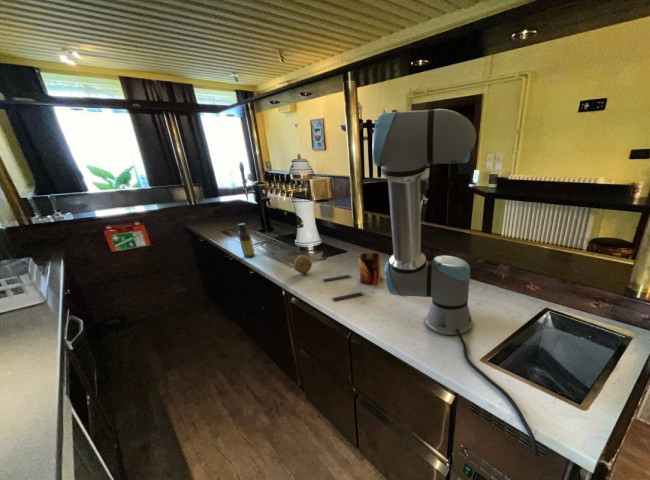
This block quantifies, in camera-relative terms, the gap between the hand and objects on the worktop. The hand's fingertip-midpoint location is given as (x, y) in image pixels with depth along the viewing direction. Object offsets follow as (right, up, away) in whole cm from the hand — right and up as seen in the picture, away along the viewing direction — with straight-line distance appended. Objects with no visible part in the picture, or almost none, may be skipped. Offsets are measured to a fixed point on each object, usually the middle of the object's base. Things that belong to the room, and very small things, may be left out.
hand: (417, 236), depth 132 cm
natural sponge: (-55, -16, +20) cm, 60 cm away
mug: (-19, -20, +8) cm, 29 cm away
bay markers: (-33, -22, +3) cm, 40 cm away
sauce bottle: (-96, -4, +50) cm, 109 cm away
